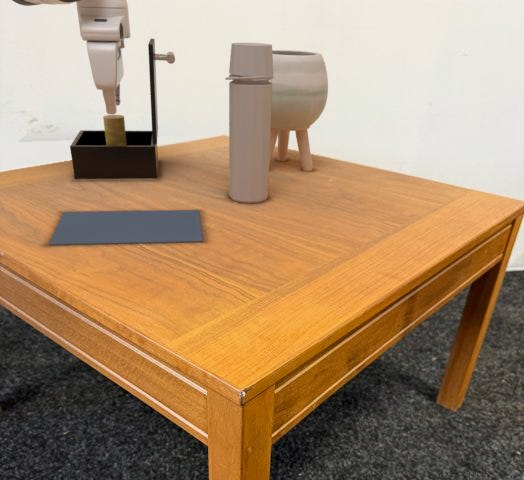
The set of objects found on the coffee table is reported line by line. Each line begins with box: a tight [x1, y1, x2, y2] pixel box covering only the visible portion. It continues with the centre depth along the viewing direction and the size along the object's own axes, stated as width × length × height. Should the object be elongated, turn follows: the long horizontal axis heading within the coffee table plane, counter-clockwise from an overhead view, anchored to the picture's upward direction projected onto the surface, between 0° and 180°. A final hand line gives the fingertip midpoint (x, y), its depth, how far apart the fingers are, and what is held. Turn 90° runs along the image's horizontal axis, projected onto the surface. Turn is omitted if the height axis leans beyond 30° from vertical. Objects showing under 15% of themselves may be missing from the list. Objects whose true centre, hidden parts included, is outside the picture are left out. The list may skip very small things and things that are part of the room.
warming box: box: [69, 129, 159, 180], centre depth 111 cm, size 16×15×7 cm
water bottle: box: [224, 42, 274, 204], centre depth 95 cm, size 9×8×25 cm
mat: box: [48, 209, 204, 247], centre depth 86 cm, size 22×14×1 cm, turn 98°
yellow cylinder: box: [102, 114, 127, 146], centre depth 110 cm, size 4×4×10 cm
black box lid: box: [147, 38, 176, 145], centre depth 106 cm, size 17×15×5 cm
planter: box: [269, 49, 329, 172], centre depth 114 cm, size 16×16×22 cm
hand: (114, 109), depth 106 cm, fingers open, 8 cm apart
